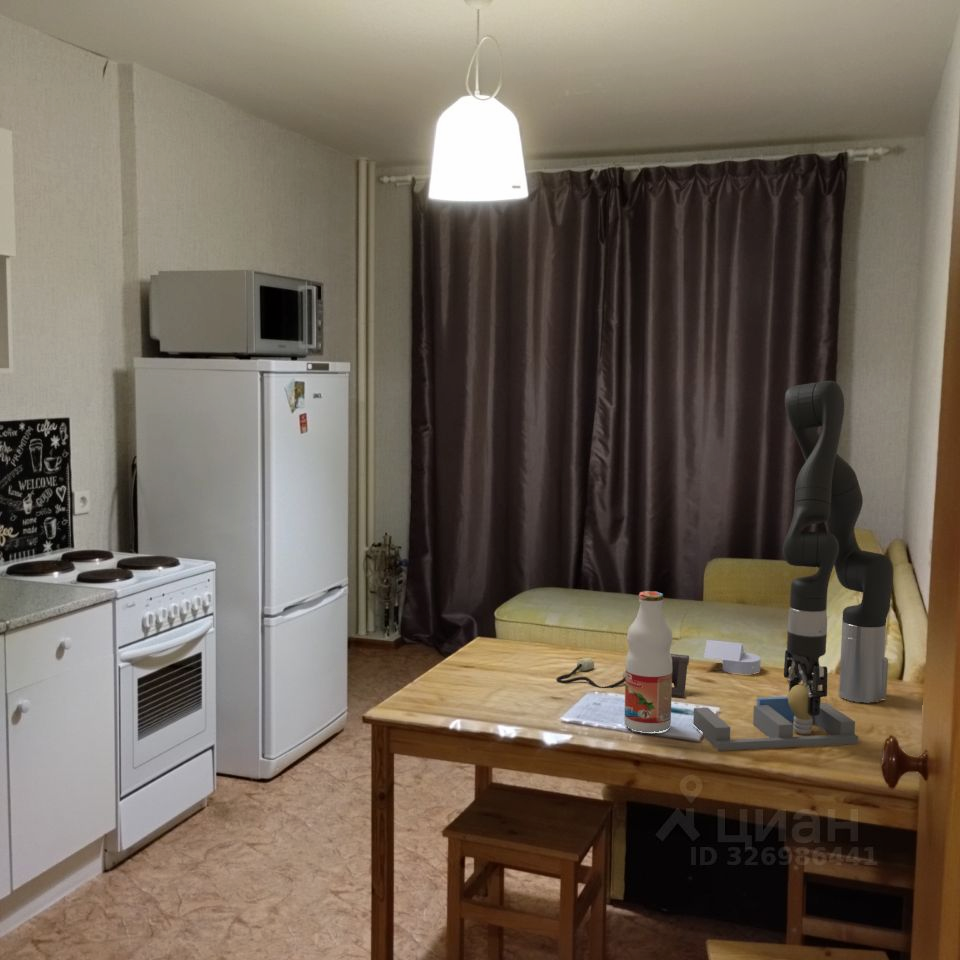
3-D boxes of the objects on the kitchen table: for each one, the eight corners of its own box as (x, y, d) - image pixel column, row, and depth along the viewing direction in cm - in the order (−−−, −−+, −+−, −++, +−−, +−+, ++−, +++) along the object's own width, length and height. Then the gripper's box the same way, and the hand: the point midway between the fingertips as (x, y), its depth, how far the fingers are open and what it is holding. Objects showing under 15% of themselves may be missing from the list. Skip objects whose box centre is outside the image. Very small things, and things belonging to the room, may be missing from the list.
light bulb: (820, 739, 209) (823, 690, 208) (787, 736, 211) (789, 688, 210) (817, 728, 216) (819, 681, 215) (785, 726, 217) (787, 679, 216)
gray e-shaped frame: (821, 718, 222) (822, 695, 222) (857, 743, 207) (859, 719, 207) (690, 723, 218) (690, 700, 217) (717, 750, 203) (718, 725, 202)
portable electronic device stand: (644, 694, 238) (645, 658, 237) (650, 684, 245) (651, 649, 244) (683, 698, 235) (684, 662, 234) (688, 688, 242) (690, 653, 241)
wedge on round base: (703, 671, 256) (757, 677, 251) (703, 644, 255) (758, 650, 251) (709, 661, 265) (762, 667, 260) (710, 635, 264) (763, 641, 259)
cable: (608, 696, 237) (608, 681, 237) (549, 682, 247) (549, 668, 247) (643, 680, 249) (643, 666, 249) (585, 668, 259) (586, 654, 259)
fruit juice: (678, 733, 212) (682, 597, 209) (634, 736, 210) (638, 599, 207) (659, 718, 221) (662, 587, 218) (617, 721, 219) (620, 589, 216)
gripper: (841, 638, 205) (838, 719, 206) (808, 620, 219) (804, 696, 220) (805, 639, 203) (802, 720, 205) (774, 621, 217) (771, 698, 219)
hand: (803, 708), depth 213 cm, fingers open, 8 cm apart
